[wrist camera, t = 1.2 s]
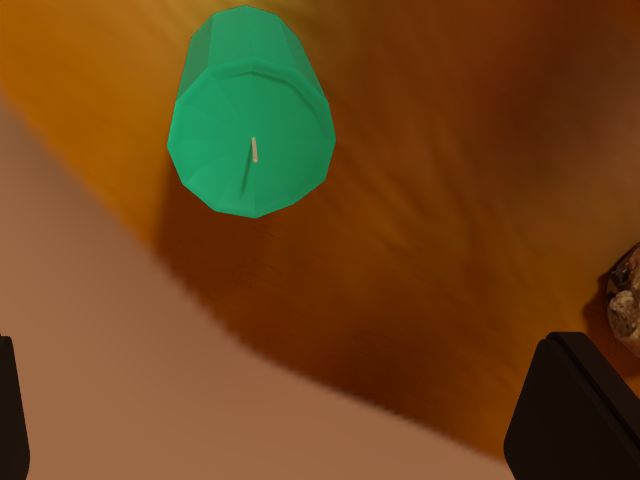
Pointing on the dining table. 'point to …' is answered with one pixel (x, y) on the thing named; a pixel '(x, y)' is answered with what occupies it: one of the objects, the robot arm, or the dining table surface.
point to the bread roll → (625, 301)
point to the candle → (250, 116)
